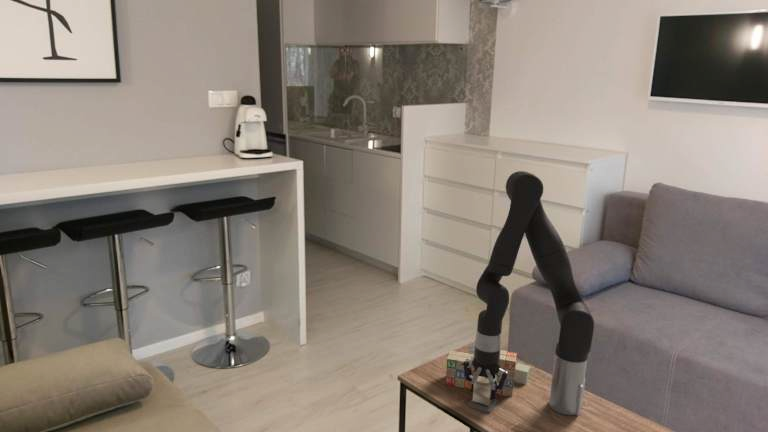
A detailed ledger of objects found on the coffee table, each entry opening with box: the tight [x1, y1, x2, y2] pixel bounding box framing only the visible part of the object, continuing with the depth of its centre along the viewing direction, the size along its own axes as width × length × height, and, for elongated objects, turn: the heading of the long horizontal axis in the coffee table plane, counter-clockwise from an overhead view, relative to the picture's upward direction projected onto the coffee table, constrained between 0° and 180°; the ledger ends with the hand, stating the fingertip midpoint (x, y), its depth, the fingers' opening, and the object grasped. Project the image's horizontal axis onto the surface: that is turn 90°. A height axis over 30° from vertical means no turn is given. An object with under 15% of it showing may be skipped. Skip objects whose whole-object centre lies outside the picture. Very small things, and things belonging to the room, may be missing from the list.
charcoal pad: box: [467, 397, 498, 414], centre depth 178 cm, size 7×7×1 cm
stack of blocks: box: [445, 349, 518, 397], centre depth 187 cm, size 21×6×12 cm, turn 74°
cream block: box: [472, 376, 492, 405], centre depth 177 cm, size 5×5×6 cm
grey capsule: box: [467, 345, 475, 354], centre depth 201 cm, size 4×4×6 cm
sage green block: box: [514, 362, 532, 386], centre depth 193 cm, size 4×4×4 cm
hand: (483, 396), depth 178 cm, fingers closed on cream block, 5 cm apart
